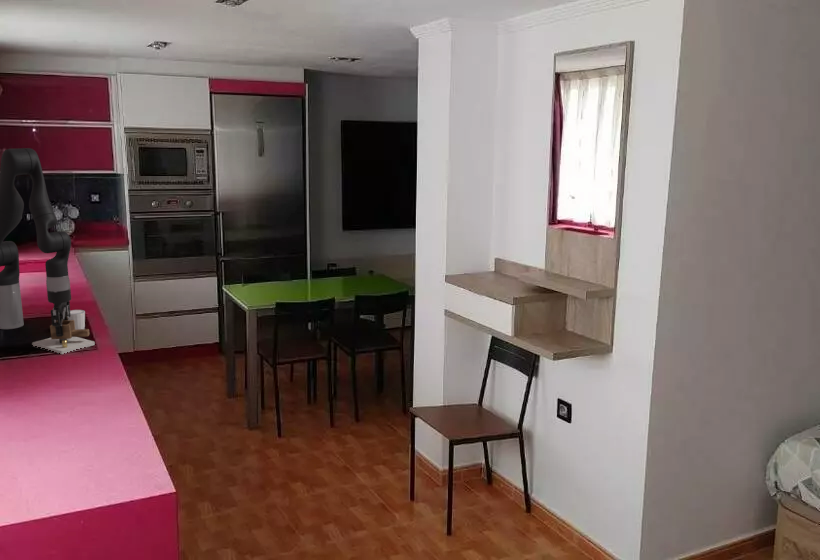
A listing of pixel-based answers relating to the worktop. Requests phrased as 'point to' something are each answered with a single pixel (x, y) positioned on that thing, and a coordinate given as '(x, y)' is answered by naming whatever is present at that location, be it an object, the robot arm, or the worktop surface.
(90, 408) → the worktop surface
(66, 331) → the open wooden box
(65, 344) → the dowel
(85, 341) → the board
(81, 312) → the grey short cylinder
